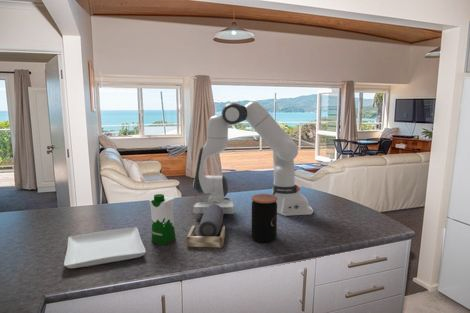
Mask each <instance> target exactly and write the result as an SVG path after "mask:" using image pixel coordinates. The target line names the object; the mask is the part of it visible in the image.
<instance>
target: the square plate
mask: <svg viewBox="0 0 470 313" xmlns="http://www.w3.org/2000/svg"><path fill="white" fill-rule="evenodd" d="M146 250H147V249H146V248H145V245H144V243H143V241H142V238H141V235H140V232H139V229H138V227H136V226H135V227H125V228H118V229H117V228H116V229H109V230H102V231H95V232H90V233H82V234H77V235H71V236H68V238H67V247H66V252H65V257H64V262H63V267H66V268H68V269H77V268H86V267H93V266H98V265H104V264H109V263H116V262H120V261H126V260H131V259H137V258H140V257H143V256H144V255H145V254H146V253H147V251H146Z"/></svg>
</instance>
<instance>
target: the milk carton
mask: <svg viewBox="0 0 470 313" xmlns="http://www.w3.org/2000/svg"><path fill="white" fill-rule="evenodd" d="M175 202H176V197H172V196H165V194H162V193H160V194H158V193H157V194H154V195H153V198H152V199H150V200H148V203H149V206H150V207H149V208H150V213H151V214H150V215H151V216H150V217H151V243H154V244H160V245H164V246H167V245H168V244H169V243H171V242H172V241H174V240H176V231H175V212H174V211H175V209H174V208H175Z"/></svg>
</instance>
